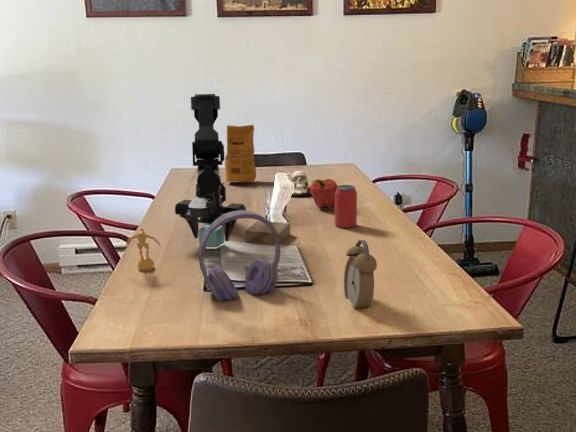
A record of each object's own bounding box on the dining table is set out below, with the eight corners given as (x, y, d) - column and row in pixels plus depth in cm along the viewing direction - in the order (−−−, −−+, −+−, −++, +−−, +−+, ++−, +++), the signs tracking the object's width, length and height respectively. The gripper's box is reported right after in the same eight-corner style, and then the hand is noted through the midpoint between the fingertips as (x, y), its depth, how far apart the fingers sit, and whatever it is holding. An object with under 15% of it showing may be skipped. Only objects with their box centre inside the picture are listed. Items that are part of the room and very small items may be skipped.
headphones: (207, 313, 134) (203, 222, 129) (197, 298, 142) (192, 212, 136) (287, 298, 141) (285, 211, 136) (273, 285, 148) (271, 202, 143)
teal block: (199, 250, 173) (198, 229, 171) (207, 245, 177) (206, 224, 176) (216, 252, 171) (215, 231, 170) (224, 246, 176) (223, 226, 174)
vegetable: (323, 212, 207) (323, 183, 204) (301, 206, 214) (301, 177, 212) (346, 206, 214) (347, 177, 211) (325, 201, 221) (325, 172, 218)
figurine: (164, 268, 160) (161, 223, 156) (161, 277, 154) (157, 230, 151) (131, 269, 159) (127, 224, 156) (126, 278, 154) (122, 231, 150)
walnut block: (245, 244, 178) (245, 230, 177) (257, 233, 188) (257, 220, 186) (279, 247, 176) (279, 233, 174) (290, 236, 185) (290, 223, 184)
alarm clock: (341, 297, 141) (342, 233, 137) (363, 295, 142) (364, 231, 138) (356, 319, 130) (357, 250, 126) (379, 317, 131) (381, 248, 127)
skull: (320, 192, 227) (299, 173, 224) (300, 212, 230) (279, 194, 227) (317, 181, 238) (298, 163, 235) (298, 200, 241) (278, 183, 238)
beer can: (355, 229, 189) (356, 190, 186) (333, 228, 191) (333, 189, 187) (357, 222, 196) (358, 185, 192) (336, 221, 197) (336, 184, 193)
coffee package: (226, 177, 260) (224, 123, 254) (256, 176, 260) (255, 122, 254) (224, 182, 250) (221, 126, 244) (255, 182, 250) (254, 126, 244)
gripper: (162, 188, 165) (166, 245, 169) (228, 193, 159) (231, 252, 163) (182, 179, 175) (186, 233, 179) (245, 183, 169) (247, 239, 174)
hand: (211, 239), depth 174 cm, fingers open, 9 cm apart
